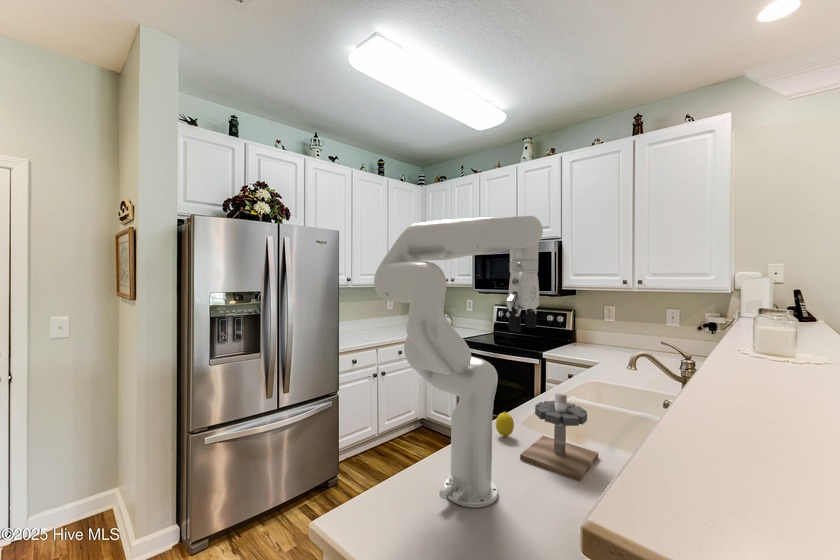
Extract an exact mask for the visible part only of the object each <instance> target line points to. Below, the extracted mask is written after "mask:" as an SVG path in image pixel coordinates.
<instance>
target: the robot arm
mask: <svg viewBox="0 0 840 560" xmlns="http://www.w3.org/2000/svg"><path fill="white" fill-rule="evenodd" d="M543 231H544V230H543V225H542V223H541V220H540V219H539V218H537V217H536V216H534V215H522V216H521V215H520V216H509V217H508V216H506V217H504V216H503V217H502V216H501V217H472V218H454V219H453V218H452V219H442V220H441V219H440V220H432V221H426V222H425V221H424V222H423V221H422V222H417V223H416V222H415V223H412V224H411V225H408V226H407V227H406V229H405V230H403V231H402V233H401V234H400V235H399V236H398V238H397V239H396V240H395V242H394V243H393V245H392V246H391V248H390V249H389V250H388V251H387V253H386V254H385V256H384V258H383V259H382V261H380V264H379V265H378V267H377V268H376V271H375V273H374V279H373V286H374V289H375V292H376V293H377V295H378V296H379V297H380V298H382V299H383V300H386V301H388V302H392V303H396V302H397V303H403V304H404V303H406V304H409V308H408V314H407V320H406V327H405V328H406V334H407V336H406V338H405V339H404V340H405V341H404V345H403V352H404V357H405V359H406V361H407V363H408V364H409V365H410V366H411V368H412V369H413V370H414V371H416V372H417V373H418V374H419V375H420V376H421V377H422V378H423V379H424V380H425V381H426V382H427V383H428V384H430V385H431V386H433V387H434V388H435V389H438V390H439V391H440V390H441V391H443V392H446V393H449V394H452V395H455V396H457V397H459V401H458V402H457V404H456V405H455V406H454V408H453V410H452V413H451V419H450V420H451V421H450V425H451V426H450V427H451V430H450V431H451V432H450V437H451V438H450V475H449V476H448V478H446V479H445V481H444V483H443V488H442V489H441V490H439V496H440V499H442V500H443V501H444V500H447V499H448V500H450V501H451V502H453V503H454V504H457V505H459V506H462V507H466V508H474V509H476V508H477V509H478V508H483V507H487V506H490V505H492V504H493V503H495V501H497V499H498V496H499V489H498V486H497V485H496V482H494V481H493V480H492V469H493V468H492V466H493V465H492V464H493V463H492V462H493V461H492V458H493V455H492V454H493V416H494V415H493V412H494V402H495V401H494V400H495V397H496V396H495V395H496V392H497V386H498V380H499V379H498V378H499V377H498V376H499V375H498V372H497V369H496V368H495V366H494V365H492V364H491V363H490V362H489V361H487V360H485V359H482V358H480V357H479V358H478V357H475V356H472V353H471V349H470V347H469V345H468V344H467V342H466V340H465V339H464V338H463V337H462V336H461V335H460V333H459V332H458V331H457V330H456V329H455V327H453V325H451V323H450V322H449V321H448V319H447V317H446V316H445V314H444V313H445V312H444V311H445V310H444V308H445V298H446V295H447V294H446V293H447V278H446V275H445V272H444V271H443V270H442V268H441V267H440V266H439V265H437V263H433V262H431V261H446V260H452V259H459V258H464V257H465V258H466V257H469V256H471V257H472V256H478V255H484V254H485V255H486V254H493V253H498V252H503V251H509V273H510V277H509V285H508V297H507V299H506V301H505V302H506V303H505V304H506V308H507V309H506V311H507V315H508V331H509V332H516V333H517V332H518V333H519V332H522V331H521V327H522V326H521V325H522V323H521V322H522V316H520V315H521V312H522V310H524V311H525V313H524V327H525V328H530V329H536V328H537V313H538V309H537V308H538V307H539V305H540V287H539V286H540V285H539V284H540V283H539V276H538V273H539V243H540V242H541V240H542V237H543V234H544V233H543ZM429 261H430V262H429Z"/></svg>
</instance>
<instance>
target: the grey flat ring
mask: <svg viewBox="0 0 840 560" xmlns="http://www.w3.org/2000/svg"><path fill="white" fill-rule="evenodd" d="M534 410H535V411H534V414H535V416H536V417H538V418H539V419H540V420H544V422H546V423H550V424H552V425H555V424H556V425H560V424H561V423H562V424H563V425H564V426H566V427H569V426H570V427H573V426H574V427H578V426H580V425H584V424H585V423H586V422H587V421H588V412H587V410H585V409H584V408H583V407H581V406H580V405H579V406H576V404H575V403H570V402H566V411H567V412H560V411H556V410H555V400H545V401H539V402H538V403H537V404H535V407H534Z"/></svg>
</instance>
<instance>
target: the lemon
mask: <svg viewBox="0 0 840 560" xmlns="http://www.w3.org/2000/svg"><path fill="white" fill-rule="evenodd" d="M495 427H496V431H497V433H498V434H499V435H501V436H502V437H503V438H507V437H508V436H510V435H511V434H512V433H513V432H514V429H515V428H514V427H515V421H514V419H513V417H512V416H511V415H510V413H508V412H507V411H503V412H501V413H499V414H498V416H497V418H496V421H495Z"/></svg>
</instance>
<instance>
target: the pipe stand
mask: <svg viewBox="0 0 840 560" xmlns="http://www.w3.org/2000/svg"><path fill="white" fill-rule="evenodd" d="M554 401H555V410H556V411H560V412H567V411H566V403H568V402H567V401H568V400H567V394H565V393H563V392H562V393H561V392H556V393H555V394H554ZM553 425H554V426H553V427H554V428H553V429H554V432H553V433H554V436H553V437H554V438H551V437H548V436H546V435H542V436H540V437H539V438H538V439H537V440H536V441H534V442H533V443H532V444H530V446H528V447H527V448H526V449H525V450H524V451H523V452H521V453H520V455H519V460H520V461H522V462H525V463H529V464H530V465H532V466H536V467H540V468H542V469H545V470H547V471H549V472H552V473H555V474H558V475H561V476H565V477H567V478H569V479H572V480H575V481H577V482H581V481H582V480H583V479H584V477H585V476H586V474H587V473H588V472H589V471H590V469H592V467H593V465H594V464H595V463H596V461H598V459H599V452H598V451H594V450H591V449H588V448H585V447H582V446H579V445H575V444H572V443H569V442H566V439H567V437H566V436H567V426H564V425H563V424H562V423H561V424H560V425H556V424H553Z"/></svg>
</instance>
